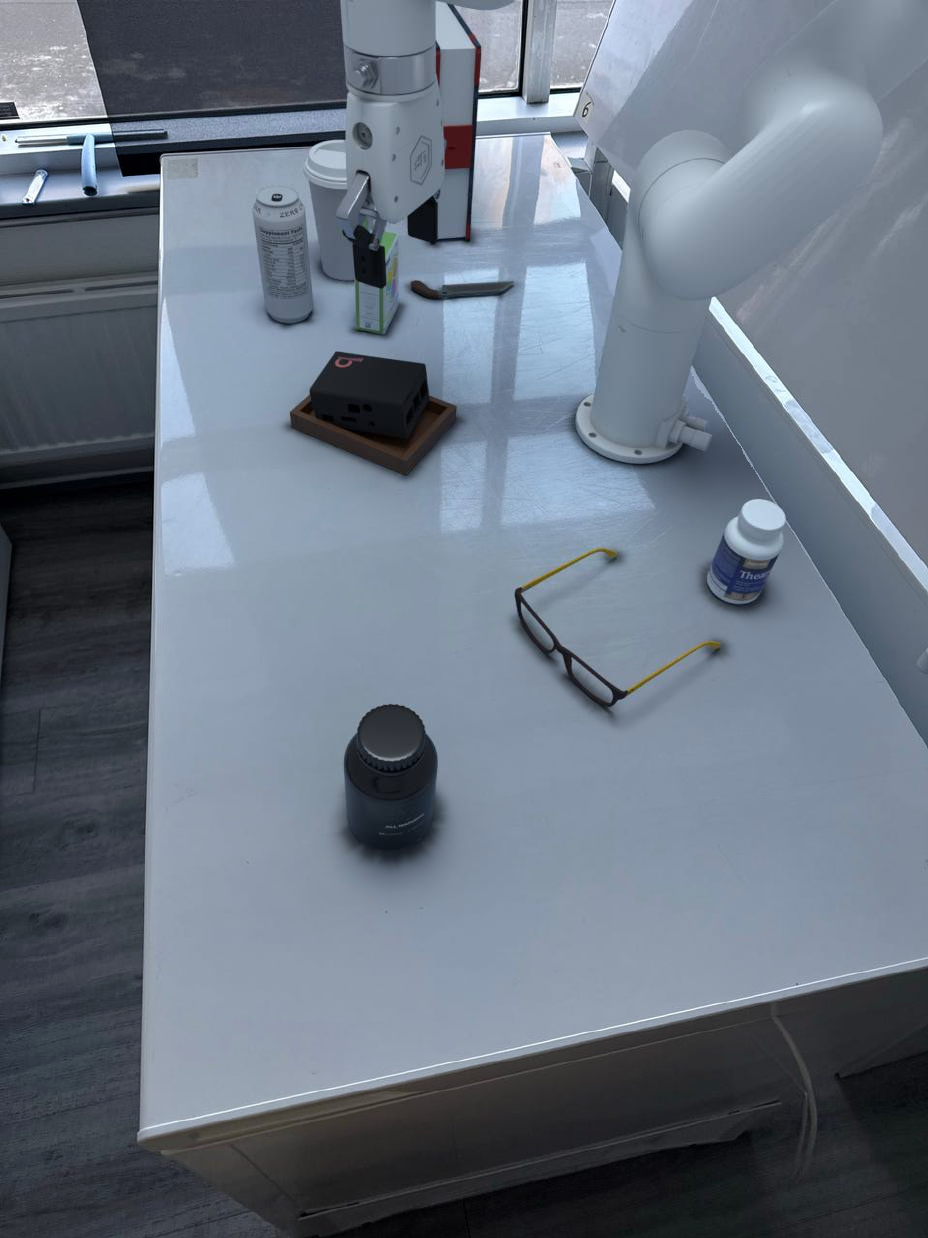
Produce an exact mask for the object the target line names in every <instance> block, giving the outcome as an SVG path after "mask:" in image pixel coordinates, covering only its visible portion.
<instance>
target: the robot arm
mask: <svg viewBox="0 0 928 1238" xmlns="http://www.w3.org/2000/svg"><path fill="white" fill-rule="evenodd" d="M339 1H340V16H341V17H340V18H341V30H342V32H341V33H342V45H343V60H344V74H345V86H346V89H347V90H348V92H347V94H346V95H347V96H346V109H345V114H346V115H345V140H346V175H347V188H348V191H347V193H346V195H345V196H344V198H343V200H342V202H341V204H340V206H339V207H338V209H337V212H336V217H337V220H338V222H339V224H340V226H341V228H342V233H343V235H344V236H345V237H346V238H347V239H348V242H349V243H351V244H352V247H353V260H354V273H355V279H356V280H357V281H358V282H361V283H364V284H367V285H370V286H373V287H377V288H380V289H383V288H384V287H385V286H386V284H387V281H386V261H385V247H384V246H381V245H380V243H381V240H382V237H383V233H384V232H385V230H386V226H387V223H389V224H392V225H396V224H398V223H400V222H401V221H403V220H404V219H405V218H406V222H407V223H406V224H407V225H406V226H407V235H408V237H410V238H414V239H417V240H421V241H424V242H427V243H429V244H431V243H434V242H435V243H436V242H437V240H439V239H438V202H435V201H434V200H438V199H439V197H440V193H441V190H440V187H441V186H442V184H443V182H444V173H445V162H444V154H445V149H446V140H445V139H444V135H443V119H442V107H441V98H440V91H439V85H438V80H437V76H436V41H435V40H436V1H439V2H443V3H448V4H452V5H454V6H455V7H462V8H465V9H470V10H477V11H495V10H499V9H502V8H505V7H507V6H509V5H511V4H513V3H514V2H516V1H517V0H339ZM926 61H928V0H832V1H831V2H830V3H829V4H828V5H827V6H826V7H824V8H823V9H822V10H821V11H820V12H818V14H816V15H815V16H814V17H813V18H812V19H811V20H810V21H809V22H808V23H806V24H805V25H804V26H803V27H802V28H801V29H800V30H798V32H796V33H795V34H794V35H793V36H791V38H789V40H787V41H786V42H785V43H784V44H783V45H781V46H780V47H779V48H778V49H777V50H776V51H774V53H772V54H771V55H770V56H769V57H768V58H767V59H766V60H764V61H763V62H762V63H761V64H760V65H759V66H758V67H757V68H756V69H755V70H754V72H752V74H751V75H750V76H749V77H748V79H747V80H746V81H745V83H744V84H743V86H742V88H741V91H740V93H739V95H738V98H737V103H736V112H735V113H736V123H737V127H738V131H739V135H740V138H741V141H742V143H743V147H742V148H741V149H740V150H739V151H738V152H737V153H736V154H734V156H733V155H732V152H730V151H729V149H728V148H727V147H726V146H725V144H724V143H723V142H722V141H721V140H720V139H719V138H717V137H715V136H714V135H713V134H712V135H711V134H710V133H708V132H705V131H702V130H698V129H697V130H696V129H684V130H679V131H675V132H672V133H670V134H668V135H666V136H664V137H663V138H661V139H660V140H658V141H657V142H656V143H654V144H653V145H652V146H651V147H650V148H649V149H648V150H647V152H646V153H645V155H643V157H642V159H641V160H640V162H639V164H638V166H637V168H636V170H635V172H634V175H633V178H632V181H631V185H630V190H629V194H628V200H627V208H626V216H625V217H626V218H625V226H624V234H623V243H622V251H621V256H620V263H619V267H618V268H619V269H618V274H617V279H616V285H615V288H614V289H615V290H614V294H613V298H612V304H611V308H610V313H609V319H608V323H607V328H606V333H605V337H604V338H605V339H604V343H603V347H602V352H601V358H600V362H599V368H598V373H597V377H596V382H595V388H594V392H592V393H591V394H589V395H588V396H586V397H585V398H584V399H583V400H581V402H580V404H579V405H578V407H577V410H576V413H575V420H574V425H575V429H576V432H577V434H578V436H579V437H580V439H581V440H582V442H583V443H584V444H586V445H587V446H588V447H589V448H590V449H592V450H593V451H594V452H596V453H598V454H599V455H601V456H604V457H605V458H608V459H611V460H613V461H618V462H620V463H621V462H622V463H626V464H636V465H637V464H639V465H640V464H641V465H642V464H652V463H657V462H661V461H663V460H666V459H669V458H670V457H672V456H673V455H675V454H676V453H677V452H678V451H679V450H680V449H681V447H682V446H683V444H685V445H688V446H690V447H692V448H694V449H697V450H699V451H703V452H707V450H708V448H709V446H710V444H711V441H712V438H713V435H712V434H711V433H708V432H705V431H706V430H707V428H708V425H709V421H708V420H706V419H703V418H700V417H696V416H693V415H690V412H688V411H686V408H687V405H688V402H689V398H688V397H686V396H684V393H685V390H686V386H687V383H688V380H689V376H690V373H691V369H692V367H693V363H694V359H695V356H696V352H697V350H698V349H697V348H698V345H699V342H700V340H701V339H700V338H701V336H702V331H703V328H704V325H705V321H706V319H707V315H708V313H709V309H710V306H711V303H712V298H714V297H717V296H718V297H719V296H720V295H722V294H725V293H727V292H728V291H730V290H733V289H734V288H736V287H738V286H739V285H740V284H742V283H743V282H745V281H746V280H748V279H749V278H751V277H752V276H754V275H755V274H756V273H758V272H759V271H760V270H762V269H763V268H765V267H766V266H767V265H768V264H770V263H771V262H772V261H773V260H775V259H777V258H778V257H779V256H781V255H782V254H783V253H785V252H786V251H787V250H788V249H790V248H791V247H792V246H794V245H795V244H797V243H798V242H799V241H801V240H802V239H803V238H805V237H806V236H808V235H809V234H810V233H811V232H813V231H814V230H815V229H816V228H818V227H819V226H820V225H822V224H823V223H824V222H826V221H827V220H828V219H829V218H831V217H832V216H833V215H835V214H836V213H837V212H838V211H839V210H841V209H842V208H843V207H844V206H845V205H846V204H847V203H848V202H850V201H851V199H853V197H854V196H855V195H856V194H857V193H858V192H859V190H860V189H862V187H863V185H864V184H865V183H866V181H867V180H868V178H869V177H870V175H871V174H872V172H873V170H874V168H875V165H876V164H877V161H878V159H879V157H880V154H881V150H882V145H883V138H884V125H883V119H882V115H881V112H880V109H879V107H878V104H879V103H880V102H881V101H882V100H883V99H885V98H886V97H887V96H888V95H889V94H891V93H892V92H893V91H894V90H895V89H896V88H897V87H898V86H899V85H901V84H902V83H903V82H904V81H906V80H907V78H909V77H910V76H911V75H912V74H913V73H914V72H916V70H918V69H919V68H920V67H921V66H922V65H923V64H925V62H926ZM372 204H375V210H372V209H369V208H368V207H369V206H371V205H372ZM366 217H367V218H371V219H374V226H373V229H372V233H370V232H369V231H368V230H367V229H366V228H365V227H363V225H364V221H365V218H366Z"/></svg>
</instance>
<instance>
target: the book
mask: <svg viewBox="0 0 928 1238" xmlns="http://www.w3.org/2000/svg"><path fill="white" fill-rule="evenodd" d="M435 41H436V76H437V80H438V85H439V91H440V98H441V107H442V119H443V135H444V139H445V140H446V149H445V154H444V162H445V173H444V182H443V184H442V186H441V187H440V190H441V193H440V197H439V199H438V200H434V201H435V202H438V239H437V240H440V239H453V238H463V240H465V243H466V242H471V232H472V231H471V230H472V213H473V212H472V211H473V196H474V178H475V177H474V176H475V162H476V144H477V127H478V110H479V93H480V84H481V83H480V82H481V81H480V80H481V67H482V45H481V43H480V42H479V40H478V38H477V37H476V35H475V34H474V33H473V32H472V30H471V28H470V26H469V25H468V24H467V23H466V21H465V19H464V18H463V16H462V15H461V14H460V12H459V10H458V8H456V5H452V4H448V3H443V2H439V1H436V40H435ZM435 244H436V242H434V243H430V245H435Z"/></svg>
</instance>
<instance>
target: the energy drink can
mask: <svg viewBox="0 0 928 1238" xmlns="http://www.w3.org/2000/svg"><path fill="white" fill-rule="evenodd" d="M299 197H300V196H299V192H298V191H297V190H296V189H295V188H293V187H291V186H288V185H283V184H282V185H281V184H272V185H268V186H264V187H261V188H260V189H258V191H257V192H256V193H255V198H256V200H255V202H254V204H253V206H252V219H253V225H254V232H255V240H256V248H257V255H258V263H259V264H258V265H259V271H260V277H261V278H260V279H261V286H262V293H263V301H264V308H265V310H266V313H268V314H269V315H270V316H271V318H272V319H274V321H277V322H280V323H282V324H295V323H299V322H303V321H304V320H306V319H308V317H309V316H310V314H311V312H312V310H313V308H314V298H313V297H314V296H313V285H312V284H313V283H312V275H311V273H312V272H311V261H310V251H309V239H308V227H307V216H306V207H305V205H304V203H303V202H302V200H301V199H300V198H299Z"/></svg>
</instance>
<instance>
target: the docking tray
mask: <svg viewBox="0 0 928 1238" xmlns="http://www.w3.org/2000/svg"><path fill="white" fill-rule="evenodd" d="M429 397H430V398H429V401H428V403H427V405H426V406H425V408H424V410H423V412H422V414H421V415H420V417H419V419H418V421H417V423H416V424H415V426H414V428H413V430H412V432H411V433H410V435H409V437H408V439H402V438H396V437H390V436H384V435H378V434H372V433H366V432H360V431H354V430H347V429H342V428H339V427H337V426H335V425H332V424H330V423H327V422H325V421H323V420H320V419H318V418H316V417H315V413H314V409H313V405H312V401H311V397H310V394H307V396H306V397H305V398H304V399H303V400H301V401H300V403H298V404H297V405H296V406H295V407H294V408H293V409H291V410H290V411H289V418H290V419H289V420H290V427H291V428H292V429H295V430H297V431H299V432H302V433H304V434H306V435H309V436H311V437H314V438H316V439H317V440H318V439H319V440H320V441H323V442H325V443H328V444H330V445H333V446H335V447H337V448H340V449H342V450H344V451H346V452H349V453H352V454H354V455H356V456H359V457H361V458H363V459H365V460H369V461H371V462H373V463H374V464H375V463H376V464H378V465H380V466H383V467H385V468H388V469H389V470H392V471H394V472H396V473H399V474H400V475H401V474H402V475H404V476H407V475H409V473H410V472H411V471H413V469H414V468H415V467H416V466H417V464H418V463H419V462H420V461H421V460H422V459H423V458H424V457H425V455H427V454H428V453H429V451H430V450H431V449H432V448H433V447H434V446H435V445H436V444H437V443H438V441H439V440H440V439H441V438H442V437H443V436H444V435H445V434H446V433H447V431H448V430H450V428H451V427H452V426H453V425H454V424H455V423H456V422H457V413H458V406H457V405H455V404H453V403H450V402H448V401H445V400H443V399H440V398H437V397H435V396H432V395H430V394H429Z"/></svg>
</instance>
